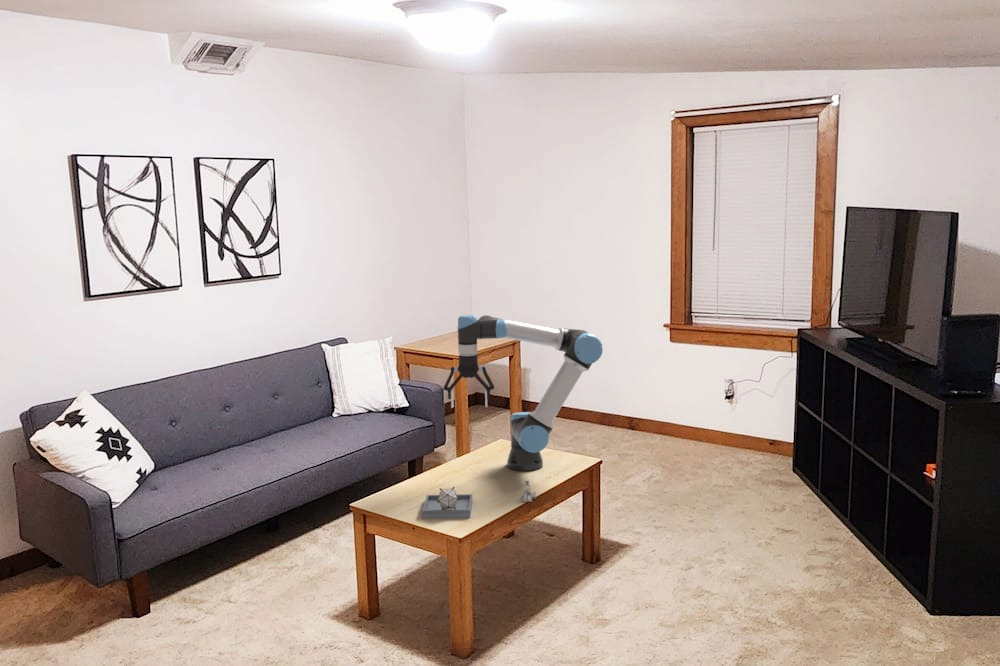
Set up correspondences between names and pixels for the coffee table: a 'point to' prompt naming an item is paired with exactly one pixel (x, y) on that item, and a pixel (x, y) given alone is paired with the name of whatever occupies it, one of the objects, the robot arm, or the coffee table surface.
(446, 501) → the game die
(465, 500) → the square tray
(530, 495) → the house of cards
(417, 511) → the coffee table surface
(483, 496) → the coffee table surface
